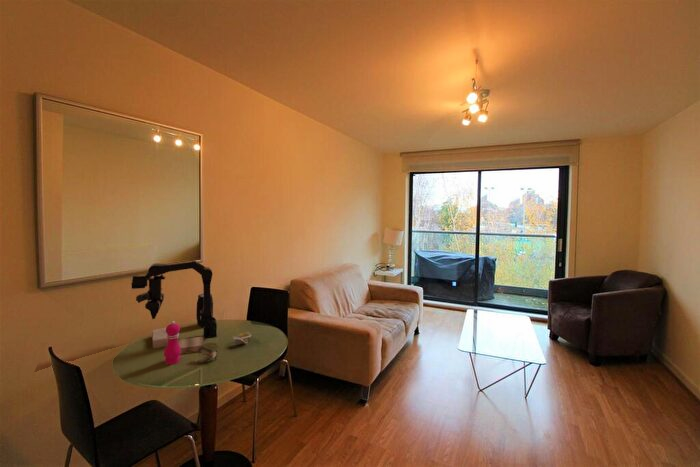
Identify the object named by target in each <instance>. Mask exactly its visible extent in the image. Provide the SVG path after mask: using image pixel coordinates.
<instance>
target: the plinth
mask: <svg viewBox="0 0 700 467" xmlns="http://www.w3.org/2000/svg"><path fill="white" fill-rule="evenodd" d="M178 344H179V346H180V348H181V354H189V353H199V352H198V349H199V348H201V347H204V336H197V337H196V336H195V337H187V338H186V337H185V338H178ZM181 354H180V355H181Z"/></svg>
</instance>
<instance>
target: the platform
mask: <svg viewBox="0 0 700 467" xmlns="http://www.w3.org/2000/svg"><path fill="white" fill-rule="evenodd" d="M251 336H252V333H251V332H249V331H245V332H242V333H237V335H236V336H232V338H233V340H234V346H237V345H241V344H242V345H243V344H245V345H246V344H248V343H249V342H250V338H251Z"/></svg>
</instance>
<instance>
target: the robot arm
mask: <svg viewBox="0 0 700 467" xmlns="http://www.w3.org/2000/svg"><path fill="white" fill-rule="evenodd" d="M190 269H192V270H194V271H195V272H197V273H198V274H199V275H201V280H202V285H203V288H202V291H203V293H202V294H203V299H204V307H203V310H200V314H201V316H200V320H202V323H203V324H205V327H203V334H202V337H203V339H208V338H217V336H218V334H217V327H218V324H217V319H216V317H214V315H213V316H212V312H211V307H210V294H211V284H212V278H213V270H212V269H211V268H210V267H209V266H208V267H207V266H204V265H202V264H201V263H199V262H197V260H195V259H194V260H190V261H182V262H181V261H180V262H176V263H175V262H174V263H153V264H150V267H149V268H148V270H147V273H145V274H144V275H132V280H131V289H132V290H135V289H136V290H137V289H138V290H139V289H145V288H146V287H148V291H146V292H143V293H141V294H138V295H136V297H135V301H136V302H137V303H138V304H140V303H141V302H145V301H147V302H146V303H145V306H144V307H145V309H146V310H148V311H149V313H150V314H151V315H150V316H151V319H152V320H155V319H156V317H157V315H158V313H159V311H160V310H161V306H162V304H163V302H164V298H165V294H164V293H162V290H163V288H162V280H166V278H167V277H166V276H165V275H164V274H166V273H169V272H177V271H183V270H190Z"/></svg>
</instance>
